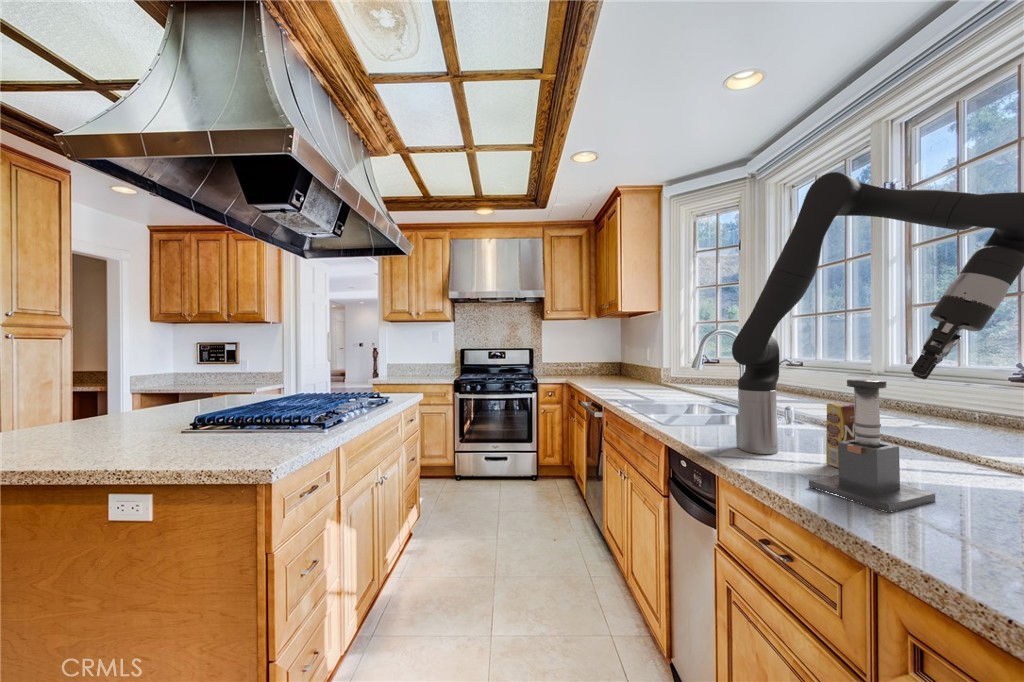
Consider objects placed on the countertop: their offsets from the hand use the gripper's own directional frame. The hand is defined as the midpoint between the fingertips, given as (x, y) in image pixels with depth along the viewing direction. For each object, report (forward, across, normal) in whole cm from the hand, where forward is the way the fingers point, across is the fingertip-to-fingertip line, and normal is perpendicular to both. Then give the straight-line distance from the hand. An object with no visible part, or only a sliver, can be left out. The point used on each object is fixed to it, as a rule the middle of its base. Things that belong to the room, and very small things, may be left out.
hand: (917, 375), depth 81 cm
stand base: (+25, +3, +4) cm, 26 cm away
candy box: (+25, -17, -2) cm, 30 cm away
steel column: (+24, +3, +4) cm, 24 cm away
